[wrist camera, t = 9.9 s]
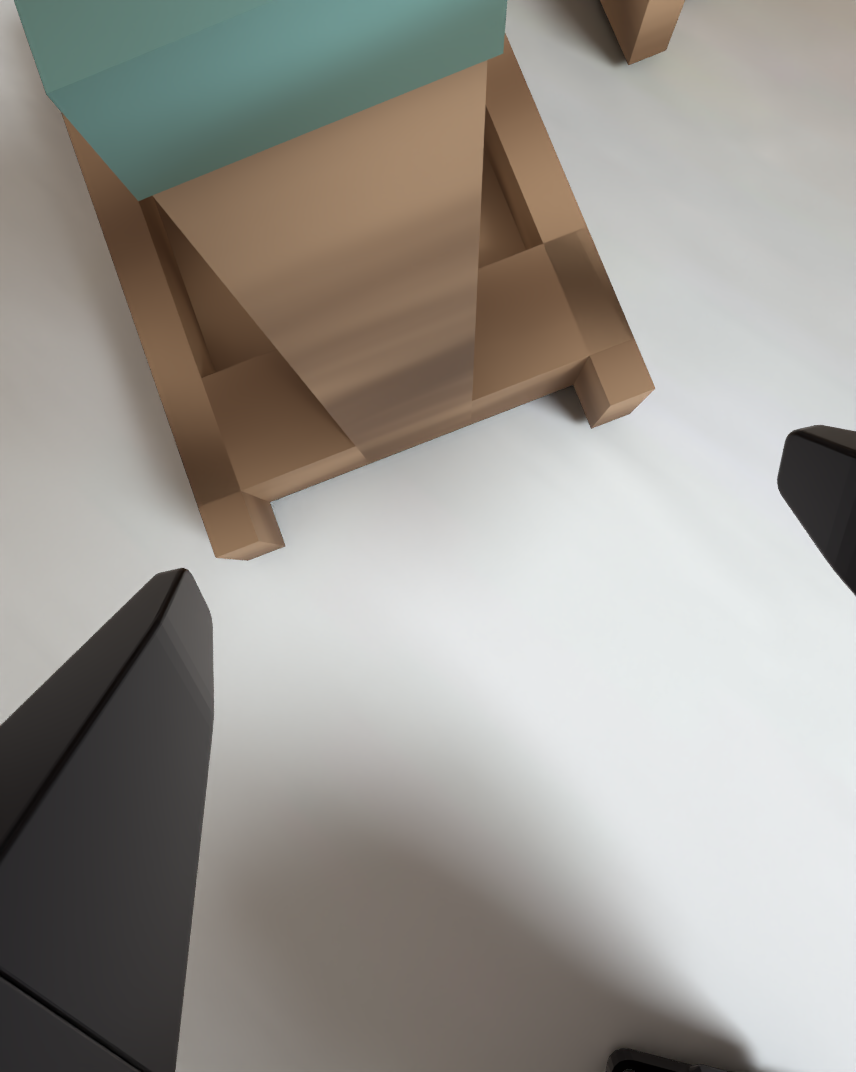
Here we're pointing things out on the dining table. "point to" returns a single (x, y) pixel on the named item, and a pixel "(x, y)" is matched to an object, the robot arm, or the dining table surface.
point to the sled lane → (329, 232)
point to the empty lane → (642, 25)
